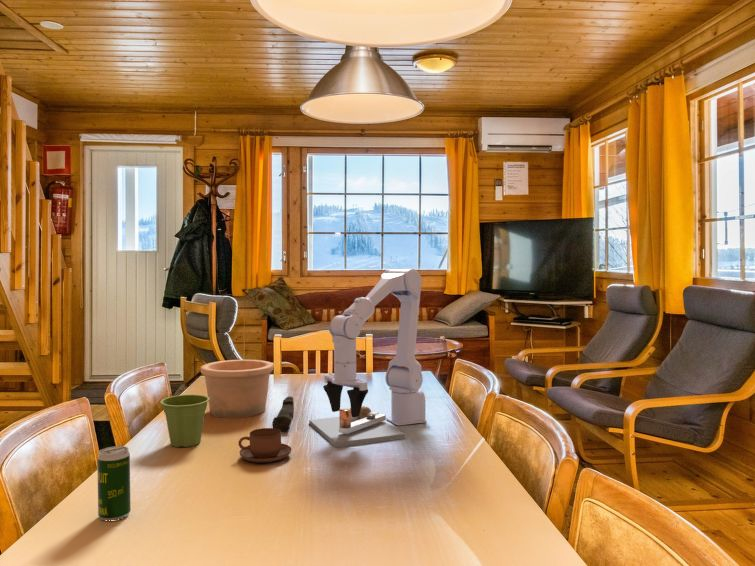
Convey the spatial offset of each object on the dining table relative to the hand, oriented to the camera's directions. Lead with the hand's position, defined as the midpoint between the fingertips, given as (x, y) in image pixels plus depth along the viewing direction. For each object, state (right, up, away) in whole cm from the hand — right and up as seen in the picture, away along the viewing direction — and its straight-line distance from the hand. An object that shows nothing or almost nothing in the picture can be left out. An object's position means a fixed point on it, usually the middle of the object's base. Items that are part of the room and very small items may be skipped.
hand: (345, 413), depth 153 cm
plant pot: (-40, -7, -4) cm, 41 cm away
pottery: (-35, -6, +29) cm, 46 cm away
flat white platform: (+2, -6, +8) cm, 10 cm away
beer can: (-39, -8, -47) cm, 62 cm away
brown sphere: (+5, -5, +15) cm, 17 cm away
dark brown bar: (-19, -7, +17) cm, 26 cm away
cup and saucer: (-18, -8, -14) cm, 24 cm away
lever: (+4, -5, +7) cm, 9 cm away
